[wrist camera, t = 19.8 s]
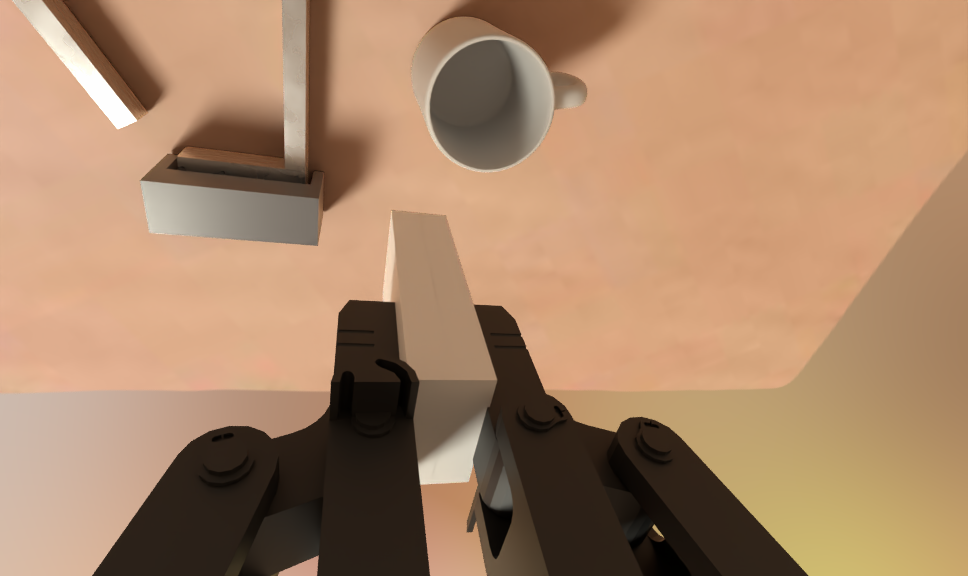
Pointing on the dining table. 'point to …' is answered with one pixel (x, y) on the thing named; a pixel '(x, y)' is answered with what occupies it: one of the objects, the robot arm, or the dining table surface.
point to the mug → (487, 93)
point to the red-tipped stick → (83, 59)
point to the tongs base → (294, 115)
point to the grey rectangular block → (231, 205)
